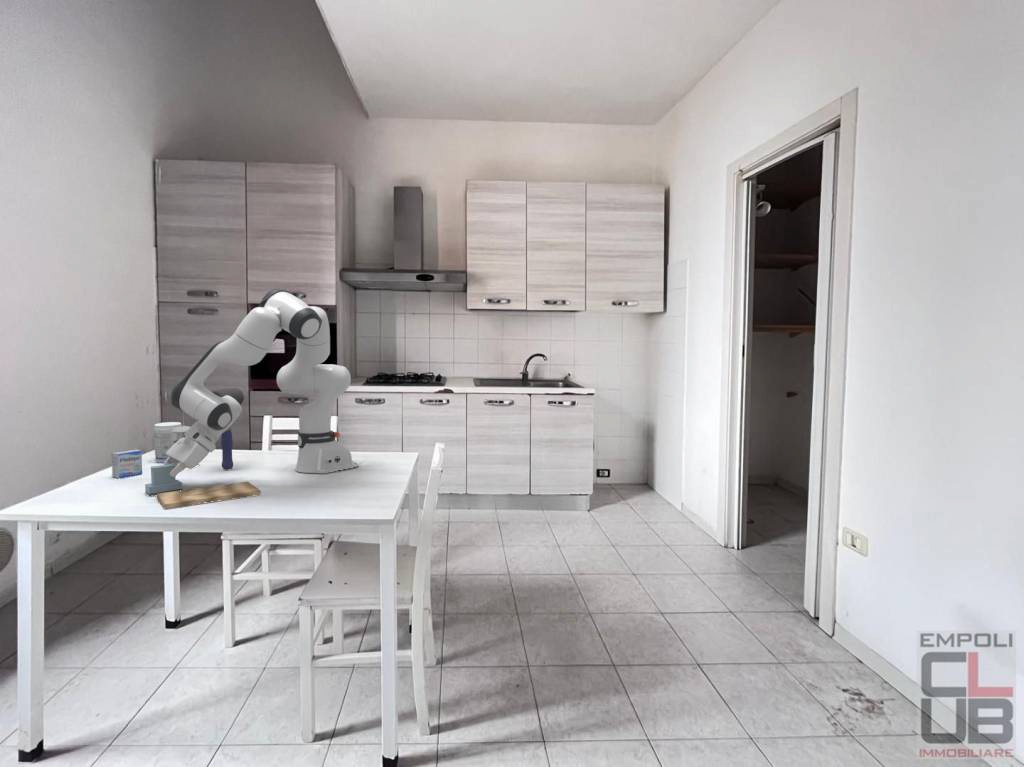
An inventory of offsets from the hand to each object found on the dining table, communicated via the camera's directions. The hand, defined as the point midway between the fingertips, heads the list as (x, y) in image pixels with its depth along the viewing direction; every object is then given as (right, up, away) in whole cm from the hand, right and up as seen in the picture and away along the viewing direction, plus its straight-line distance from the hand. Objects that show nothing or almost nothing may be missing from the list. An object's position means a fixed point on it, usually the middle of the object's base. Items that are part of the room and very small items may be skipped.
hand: (166, 473), depth 187 cm
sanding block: (-1, -6, 0) cm, 6 cm away
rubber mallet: (+4, -4, +32) cm, 33 cm away
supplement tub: (-25, -2, +46) cm, 53 cm away
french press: (-14, -3, +36) cm, 39 cm away
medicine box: (-26, -4, +21) cm, 34 cm away
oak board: (+16, -7, -4) cm, 17 cm away
